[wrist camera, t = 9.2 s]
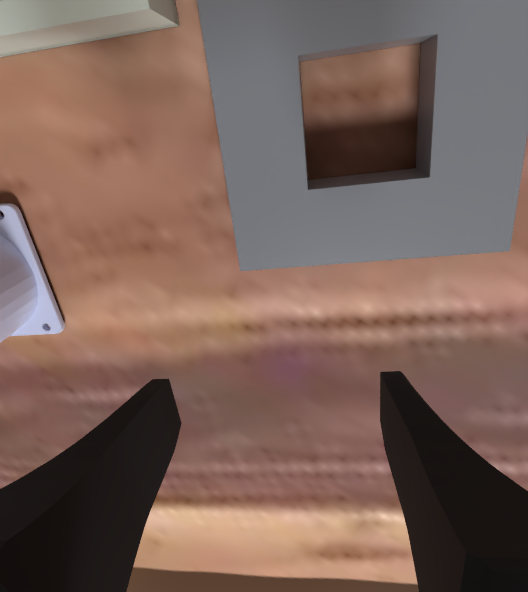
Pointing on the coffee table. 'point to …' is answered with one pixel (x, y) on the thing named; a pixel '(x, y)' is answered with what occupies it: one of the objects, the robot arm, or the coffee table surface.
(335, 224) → the grey square frame
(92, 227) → the coffee table surface
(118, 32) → the parts tray
